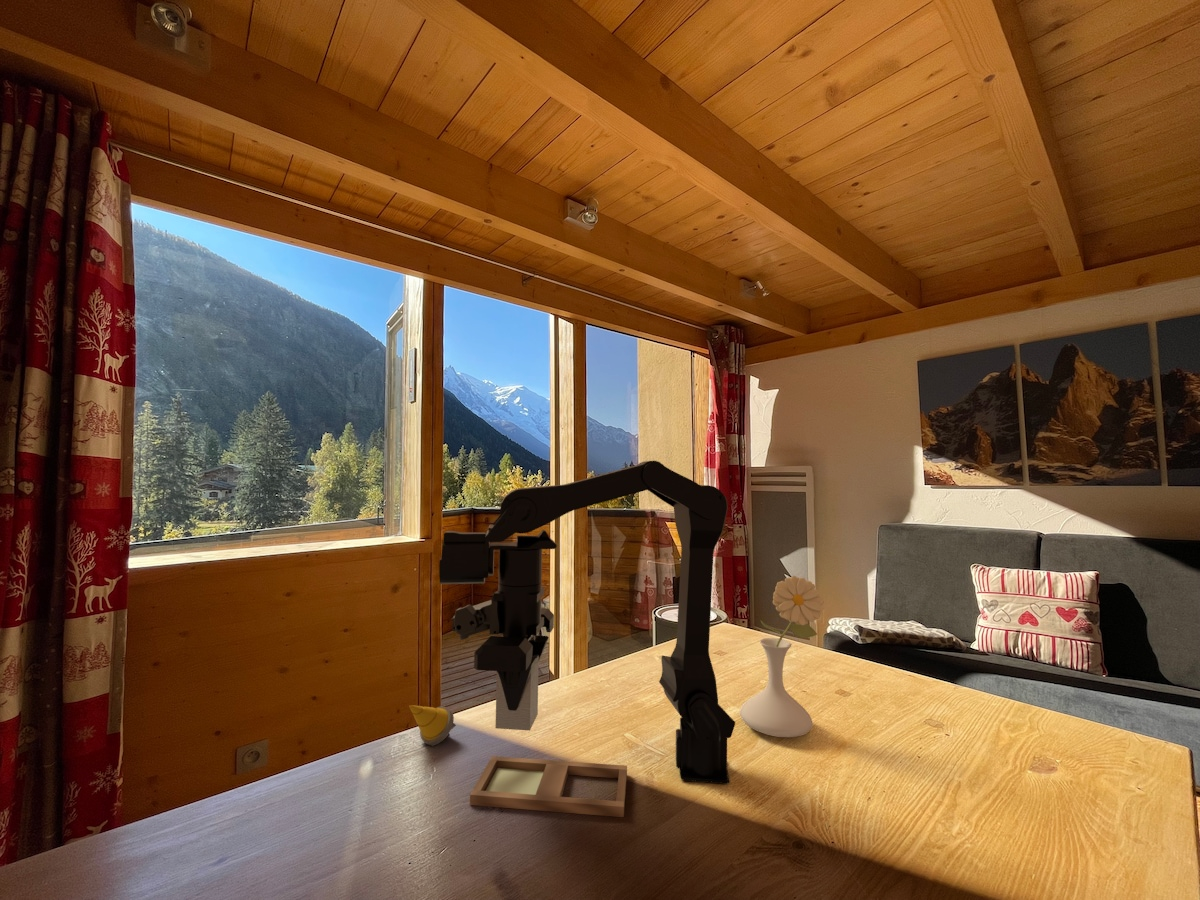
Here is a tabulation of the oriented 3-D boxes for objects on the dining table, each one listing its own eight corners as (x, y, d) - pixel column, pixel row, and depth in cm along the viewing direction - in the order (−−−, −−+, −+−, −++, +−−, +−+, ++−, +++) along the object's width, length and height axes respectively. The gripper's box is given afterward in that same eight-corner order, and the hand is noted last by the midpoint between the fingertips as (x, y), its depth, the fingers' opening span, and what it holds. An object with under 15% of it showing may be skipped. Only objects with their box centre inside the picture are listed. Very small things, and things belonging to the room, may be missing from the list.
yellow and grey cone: (462, 746, 79) (421, 717, 74) (432, 757, 80) (390, 729, 74) (465, 712, 83) (427, 682, 78) (437, 723, 84) (398, 694, 79)
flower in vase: (735, 736, 83) (735, 577, 84) (743, 707, 93) (744, 566, 94) (824, 754, 78) (824, 584, 79) (823, 721, 88) (822, 572, 89)
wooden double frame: (626, 774, 71) (627, 765, 71) (623, 817, 62) (623, 806, 62) (491, 764, 73) (491, 756, 73) (469, 804, 64) (469, 794, 64)
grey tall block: (537, 714, 71) (538, 650, 71) (529, 730, 66) (531, 661, 67) (505, 712, 71) (506, 648, 72) (495, 728, 67) (497, 659, 67)
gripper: (483, 568, 80) (481, 672, 79) (433, 596, 61) (429, 732, 60) (555, 570, 79) (553, 676, 78) (526, 599, 60) (523, 738, 59)
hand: (517, 701), depth 69 cm, fingers closed on grey tall block, 4 cm apart
